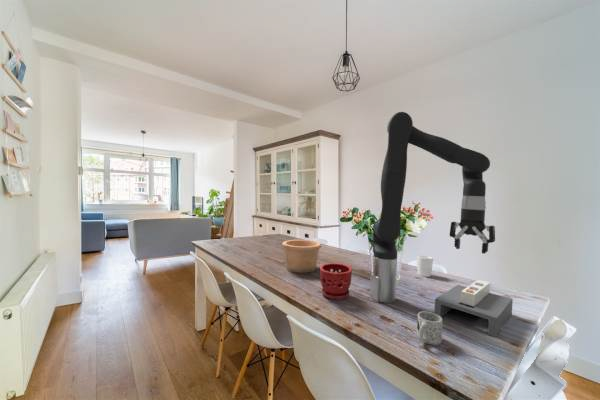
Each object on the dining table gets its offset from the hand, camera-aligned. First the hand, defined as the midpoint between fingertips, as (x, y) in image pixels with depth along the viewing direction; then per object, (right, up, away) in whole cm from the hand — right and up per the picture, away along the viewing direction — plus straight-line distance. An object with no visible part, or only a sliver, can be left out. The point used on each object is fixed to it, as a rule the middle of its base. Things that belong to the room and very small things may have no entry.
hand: (470, 250), depth 97 cm
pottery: (-64, -20, +48) cm, 82 cm away
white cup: (+3, -22, +42) cm, 48 cm away
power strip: (0, -20, -2) cm, 20 cm away
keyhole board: (-1, -23, -4) cm, 23 cm away
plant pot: (-50, -21, +10) cm, 55 cm away
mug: (-27, -23, -21) cm, 41 cm away
